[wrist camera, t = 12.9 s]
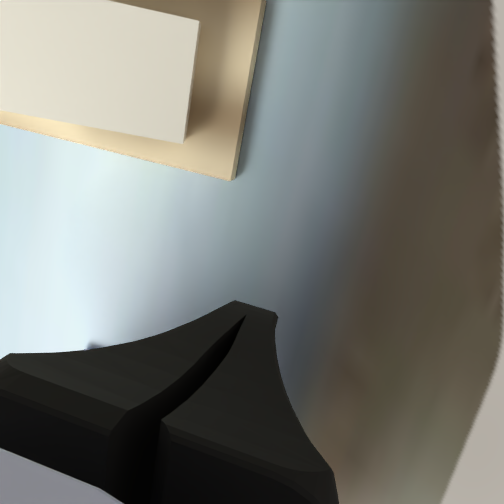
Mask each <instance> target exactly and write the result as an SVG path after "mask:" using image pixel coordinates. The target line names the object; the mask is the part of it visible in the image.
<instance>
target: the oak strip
mask: <svg viewBox="0 0 504 504" xmlns="http://www.w3.org/2000/svg"><path fill="white" fill-rule="evenodd" d="M109 1H113V2H118V3H122V4H127V5H131V6H136V7H140V8H144V9H149V10H153V11H158V12H162V13H167V14H171V15H176V16H180V17H184V18H189V19H193V20H198V21H199V22H200V24H201V30H200V37H199V44H198V52H197V59H196V67H195V74H194V82H193V89H192V97H191V104H190V112H189V119H188V126H187V134H186V139H185V141H184V143H183V144H179V143H174V142H169V141H163V140H158V139H152V138H147V137H142V136H136V135H131V134H125V133H120V132H115V131H109V130H104V129H98V128H93V127H88V126H82V125H77V124H71V123H66V122H61V121H55V120H50V119H45V118H39V117H34V116H28V115H23V114H18V113H12V112H7V111H1V110H0V124H3V125H7V126H11V127H15V128H19V129H23V130H27V131H31V132H35V133H39V134H43V135H47V136H51V137H55V138H59V139H63V140H67V141H71V142H75V143H79V144H83V145H87V146H91V147H95V148H99V149H103V150H107V151H111V152H115V153H119V154H123V155H127V156H131V157H135V158H139V159H143V160H147V161H151V162H155V163H159V164H163V165H167V166H171V167H175V168H179V169H183V170H187V171H191V172H195V173H199V174H203V175H207V176H211V177H215V178H219V179H223V180H227V181H232V180H234V179H235V176H236V171H237V165H238V159H239V154H240V148H241V142H242V137H243V131H244V125H245V120H246V114H247V108H248V103H249V97H250V91H251V86H252V80H253V74H254V68H255V63H256V57H257V51H258V46H259V40H260V34H261V29H262V23H263V17H264V12H265V6H266V0H109Z"/></svg>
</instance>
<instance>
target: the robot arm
mask: <svg viewBox="0 0 504 504" xmlns="http://www.w3.org/2000/svg"><path fill="white" fill-rule="evenodd" d="M277 320H278V316H277V315H276V313H275V312H272V311H269V310H265V309H262V308H259V307H255V306H252V305H249V304H245V303H242V302H239V301H235V300H234V301H232V302H230V303H228V304H226V305H224V306H222V307H220V308H218V309H216V310H214V311H213V312H211V313H209V314H207V315H204V316H202V317H200V318H198V319H196V320H194V321H192V322H189V323H187V324H184V325H182V326H179V327H177V328H175V329H172V330H170V331H167V332H164V333H161V334H158V335H155V336H152V337H148V338H145V339H141V340H137V341H133V342H129V343H124V344H119V345H113V346H108V347H103V348H97V349H84V350H81V351H70V352H56V353H10V354H8V355H6V356H5V357H3V358H2V359H0V504H339V501H338V494H337V489H336V483H335V478H334V473H333V471H332V469H331V468H330V466H329V465H328V464H327V462H326V461H325V460H324V459H323V457H322V456H321V455H320V453H319V452H318V451H317V450H316V448H315V447H314V446H313V444H312V443H311V442H310V440H309V438H308V437H307V435H306V433H305V432H304V430H303V428H302V426H301V424H300V422H299V420H298V418H297V416H296V414H295V412H294V410H293V408H292V406H291V403H290V401H289V398H288V396H287V393H286V390H285V387H284V384H283V381H282V378H281V374H280V370H279V365H278V360H277V354H276V345H275V328H276V324H277Z"/></svg>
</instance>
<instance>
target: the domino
mask: <svg viewBox="0 0 504 504" xmlns="http://www.w3.org/2000/svg"><path fill="white" fill-rule="evenodd" d="M200 30H201V24H200V22H199V21H198V20H193V19H189V18H184V17H180V16H176V15H171V14H167V13H162V12H158V11H153V10H149V9H144V8H140V7H136V6H131V5H127V4H122V3H118V2H113V1H109V0H0V110H1V111H7V112H12V113H18V114H23V115H28V116H34V117H39V118H45V119H50V120H55V121H61V122H66V123H71V124H77V125H82V126H88V127H93V128H98V129H104V130H109V131H115V132H120V133H125V134H131V135H136V136H142V137H147V138H152V139H158V140H163V141H169V142H174V143H179V144H183V143H184V141H185V139H186V134H187V126H188V119H189V112H190V104H191V97H192V89H193V82H194V74H195V67H196V59H197V52H198V44H199V37H200Z"/></svg>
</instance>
